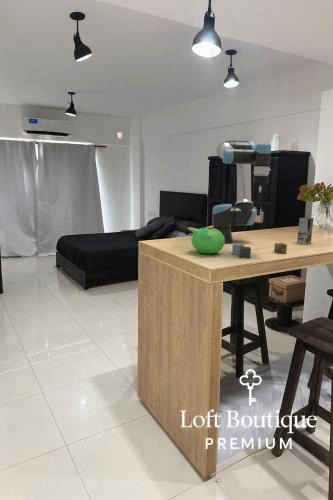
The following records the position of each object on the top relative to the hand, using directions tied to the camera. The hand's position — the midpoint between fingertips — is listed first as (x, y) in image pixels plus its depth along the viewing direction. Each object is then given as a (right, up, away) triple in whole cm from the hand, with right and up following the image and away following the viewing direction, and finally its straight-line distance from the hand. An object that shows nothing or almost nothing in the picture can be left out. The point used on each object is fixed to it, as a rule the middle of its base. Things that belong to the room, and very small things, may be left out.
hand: (257, 221), depth 181 cm
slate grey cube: (-10, -17, +4) cm, 20 cm away
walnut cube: (+15, -17, +9) cm, 24 cm away
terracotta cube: (0, 0, 0) cm, 0 cm away
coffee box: (+39, -11, +38) cm, 56 cm away
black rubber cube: (-8, -19, -4) cm, 21 cm away
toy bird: (-26, -17, +3) cm, 32 cm away
